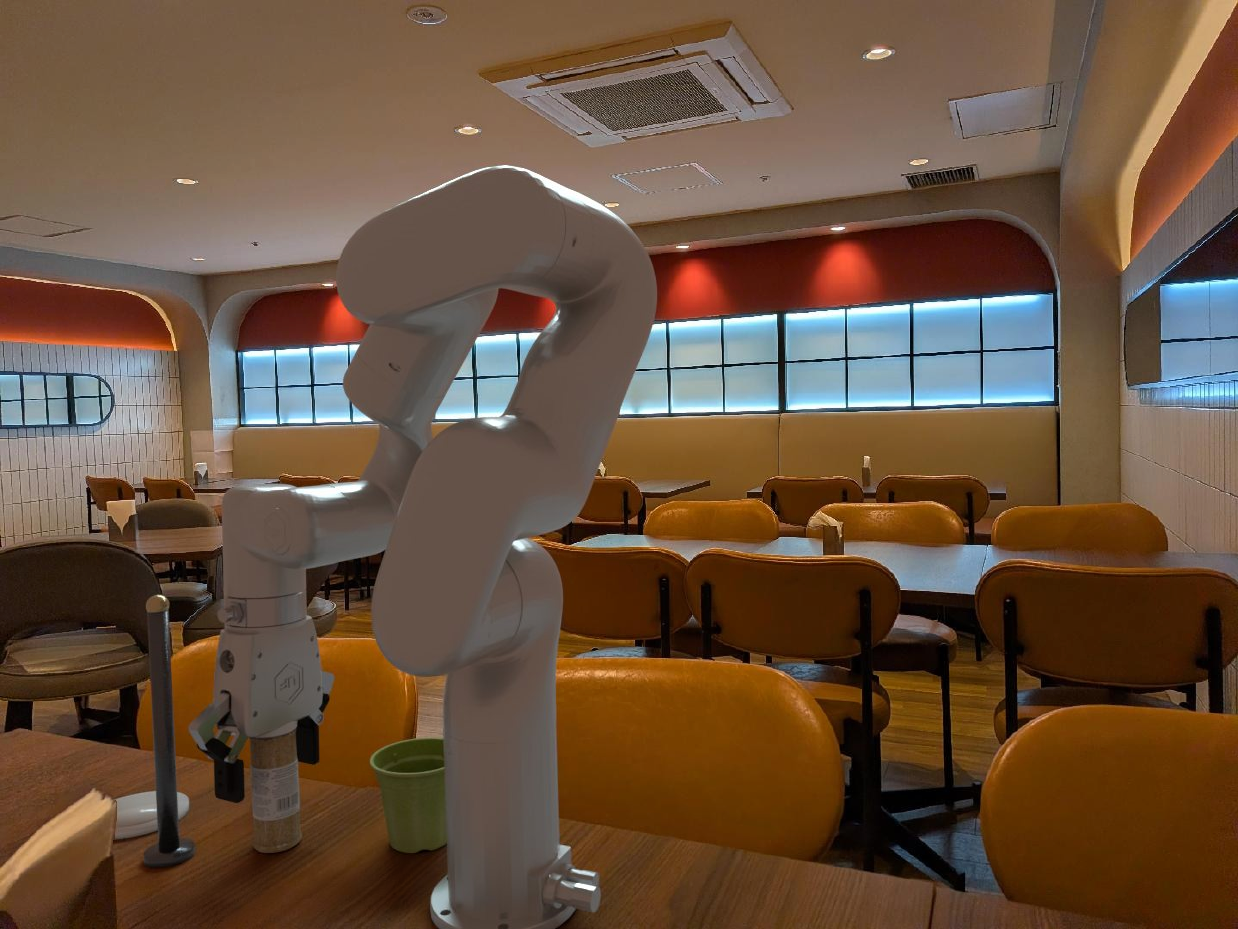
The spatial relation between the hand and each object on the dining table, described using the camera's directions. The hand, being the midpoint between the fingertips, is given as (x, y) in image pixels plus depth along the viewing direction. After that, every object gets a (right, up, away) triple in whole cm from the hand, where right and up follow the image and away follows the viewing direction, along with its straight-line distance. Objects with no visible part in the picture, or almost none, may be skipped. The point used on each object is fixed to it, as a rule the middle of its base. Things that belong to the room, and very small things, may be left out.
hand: (269, 779), depth 86 cm
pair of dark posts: (-6, -6, +4) cm, 10 cm away
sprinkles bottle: (+1, -7, 0) cm, 7 cm away
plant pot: (+15, -6, 0) cm, 16 cm away
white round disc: (-17, -7, +7) cm, 19 cm away
